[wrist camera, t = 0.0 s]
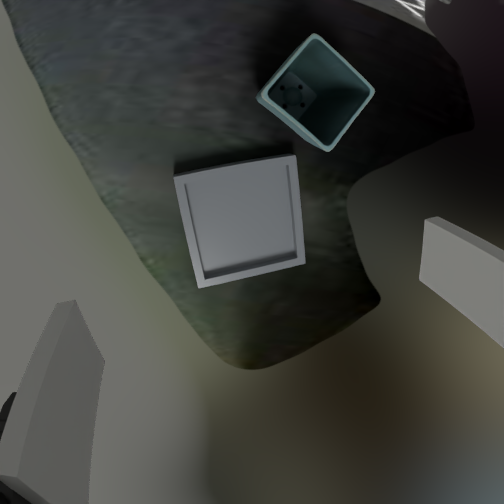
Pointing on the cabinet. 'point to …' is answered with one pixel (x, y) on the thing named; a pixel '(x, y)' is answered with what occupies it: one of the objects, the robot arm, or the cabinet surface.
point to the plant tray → (242, 218)
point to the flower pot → (316, 93)
